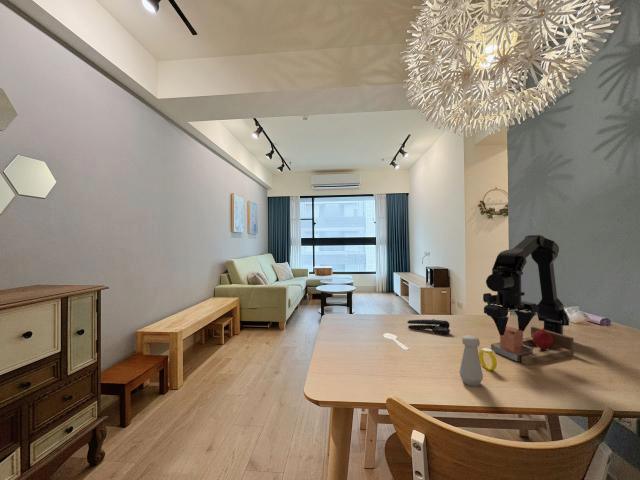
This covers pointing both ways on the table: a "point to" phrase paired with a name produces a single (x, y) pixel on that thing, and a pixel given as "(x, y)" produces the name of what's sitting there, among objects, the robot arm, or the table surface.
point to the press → (512, 344)
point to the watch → (494, 362)
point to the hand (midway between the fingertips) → (511, 333)
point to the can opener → (431, 326)
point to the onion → (542, 339)
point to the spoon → (394, 337)
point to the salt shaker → (471, 362)
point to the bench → (559, 348)
